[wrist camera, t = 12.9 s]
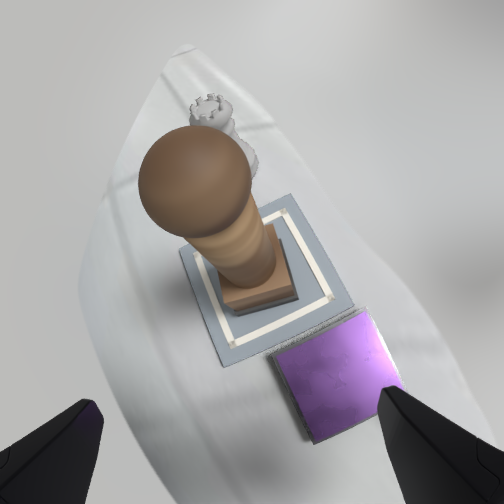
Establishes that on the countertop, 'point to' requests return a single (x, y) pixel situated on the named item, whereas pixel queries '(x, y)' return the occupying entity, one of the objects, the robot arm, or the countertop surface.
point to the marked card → (281, 317)
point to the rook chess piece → (221, 123)
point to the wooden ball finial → (217, 214)
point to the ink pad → (338, 375)
